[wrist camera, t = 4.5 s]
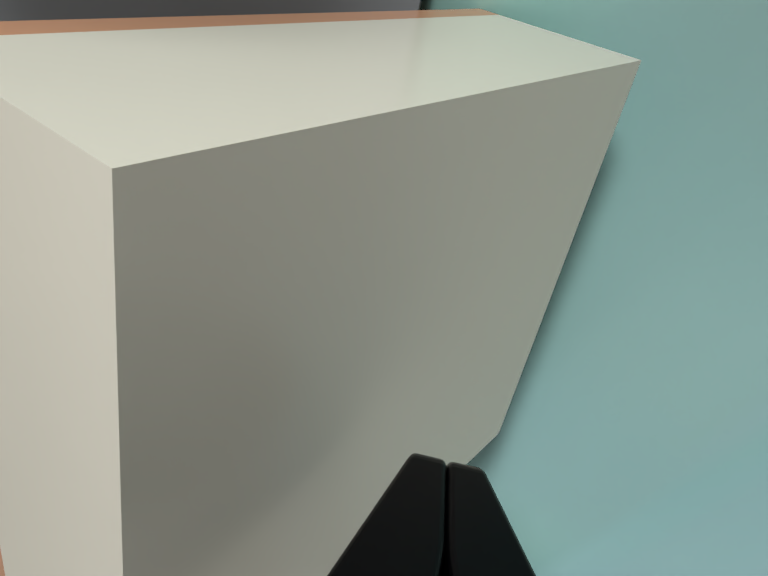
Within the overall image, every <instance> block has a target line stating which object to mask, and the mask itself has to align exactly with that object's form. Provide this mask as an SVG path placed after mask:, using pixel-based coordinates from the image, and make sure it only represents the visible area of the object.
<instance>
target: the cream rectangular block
mask: <svg viewBox="0 0 768 576" xmlns="http://www.w3.org/2000/svg"><path fill="white" fill-rule="evenodd" d="M640 62H641V60H639V59H636V58H633V57H629V56H626V55H623V54H620V53H617V52H614V51H611V50H608V49H604V48H601V47H598V46H595V45H592V44H589V43H586V42H583V41H579V40H576V39H573V38H570V37H567V36H564V35H561V34H558V33H554V32H551V31H548V30H545V29H542V28H539V27H536V26H533V25H529V24H526V23H523V22H520V21H517V20H514V19H511V18H508V17H504V16H501V15H498V14H495V13H492V12H489V11H486V10H483V9H447V10H409V11H371V12H332V13H294V14H256V15H217V16H179V17H141V18H102V19H64V20H26V21H0V576H327V575H328V574H329V572H330V571H331V569H332V568H333V566H334V565H335V563H336V562H337V560H338V559H339V558H340V556H341V555H342V553H343V552H344V550H345V549H346V547H347V546H348V544H349V543H350V541H351V540H352V539H353V537H354V536H355V534H356V533H357V531H358V530H359V528H360V527H361V525H362V524H363V523H364V521H365V520H366V518H367V517H368V515H369V514H370V512H371V511H372V509H373V508H374V506H375V505H376V504H377V502H378V501H379V499H380V498H381V496H382V495H383V493H384V492H385V490H386V489H387V488H388V486H389V485H390V483H391V482H392V480H393V479H394V477H395V476H396V474H397V473H398V471H399V470H400V469H401V467H402V466H403V464H404V463H405V461H406V460H407V458H408V457H409V456H410V455H411V454H413V453H418V454H422V455H427V456H431V457H435V458H439V459H442V460H444V461H445V464H446V465H447V464H448V463H450V462H456V463H461V464H465V465H466V464H467V463H468V462H469V461H470V460H472V459H473V458H474V457H475V456H476V455H477V454H478V453H479V452H480V451H481V450H482V449H483V448H484V447H485V446H486V445H487V444H488V443H489V442H490V441H491V440H492V439H493V438H494V437H495V436H497V435H498V434H499V431H500V429H501V426H502V424H503V421H504V418H505V416H506V413H507V410H508V408H509V405H510V403H511V400H512V397H513V395H514V392H515V390H516V387H517V384H518V382H519V379H520V376H521V374H522V371H523V369H524V366H525V363H526V361H527V358H528V355H529V353H530V350H531V348H532V345H533V342H534V340H535V337H536V335H537V332H538V329H539V327H540V324H541V321H542V319H543V316H544V314H545V311H546V308H547V306H548V303H549V301H550V298H551V295H552V293H553V290H554V287H555V285H556V282H557V280H558V277H559V274H560V272H561V269H562V267H563V264H564V261H565V259H566V256H567V253H568V251H569V248H570V246H571V243H572V240H573V238H574V235H575V233H576V230H577V227H578V225H579V222H580V219H581V217H582V214H583V212H584V209H585V206H586V204H587V201H588V198H589V196H590V193H591V191H592V188H593V185H594V183H595V180H596V178H597V175H598V172H599V170H600V167H601V164H602V162H603V159H604V157H605V154H606V151H607V149H608V146H609V144H610V141H611V138H612V136H613V133H614V130H615V128H616V125H617V123H618V120H619V117H620V115H621V112H622V110H623V107H624V104H625V102H626V99H627V96H628V94H629V91H630V89H631V86H632V83H633V81H634V78H635V76H636V73H637V70H638V68H639V65H640Z"/></svg>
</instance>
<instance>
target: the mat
mask: <svg viewBox="0 0 768 576" xmlns="http://www.w3.org/2000/svg"><path fill="white" fill-rule="evenodd" d="M421 3H422V0H0V21H26V20H64V19H102V18H141V17H179V16H217V15H256V14H294V13H332V12H371V11H409V10H420V8H421Z"/></svg>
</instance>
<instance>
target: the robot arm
mask: <svg viewBox="0 0 768 576" xmlns="http://www.w3.org/2000/svg"><path fill="white" fill-rule="evenodd" d="M327 576H536V575H535V573H534V571H533V569H532V567H531V565H530V563H529V561H528V559H527V557H526V555H525V553H524V551H523V549H522V547H521V545H520V543H519V541H518V539H517V537H516V535H515V533H514V531H513V529H512V527H511V524H510V522H509V520H508V518H507V516H506V514H505V512H504V510H503V508H502V506H501V504H500V502H499V500H498V498H497V496H496V494H495V492H494V490H493V488H492V486H491V484H490V482H489V480H488V478H487V476H486V474H485V472H484V471H483V470H482V469H480V468H477V467H473V466H469V465H465V464H461V463H456V462H450V463H448V464H447V465H446V464H445V461H444V460H442V459H439V458H435V457H431V456H427V455H422V454H418V453H413V454H411V455H410V456H409V457H408V458H407V460H406V461H405V463H404V464H403V466H402V467H401V469H400V470H399V471H398V473H397V474H396V476H395V477H394V479H393V480H392V482H391V483H390V485H389V486H388V488H387V489H386V490H385V492H384V493H383V495H382V496H381V498H380V499H379V501H378V502H377V504H376V505H375V506H374V508H373V509H372V511H371V512H370V514H369V515H368V517H367V518H366V520H365V521H364V523H363V524H362V525H361V527H360V528H359V530H358V531H357V533H356V534H355V536H354V537H353V539H352V540H351V541H350V543H349V544H348V546H347V547H346V549H345V550H344V552H343V553H342V555H341V556H340V558H339V559H338V560H337V562H336V563H335V565H334V566H333V568H332V569H331V571H330V572H329V574H328V575H327Z"/></svg>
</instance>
